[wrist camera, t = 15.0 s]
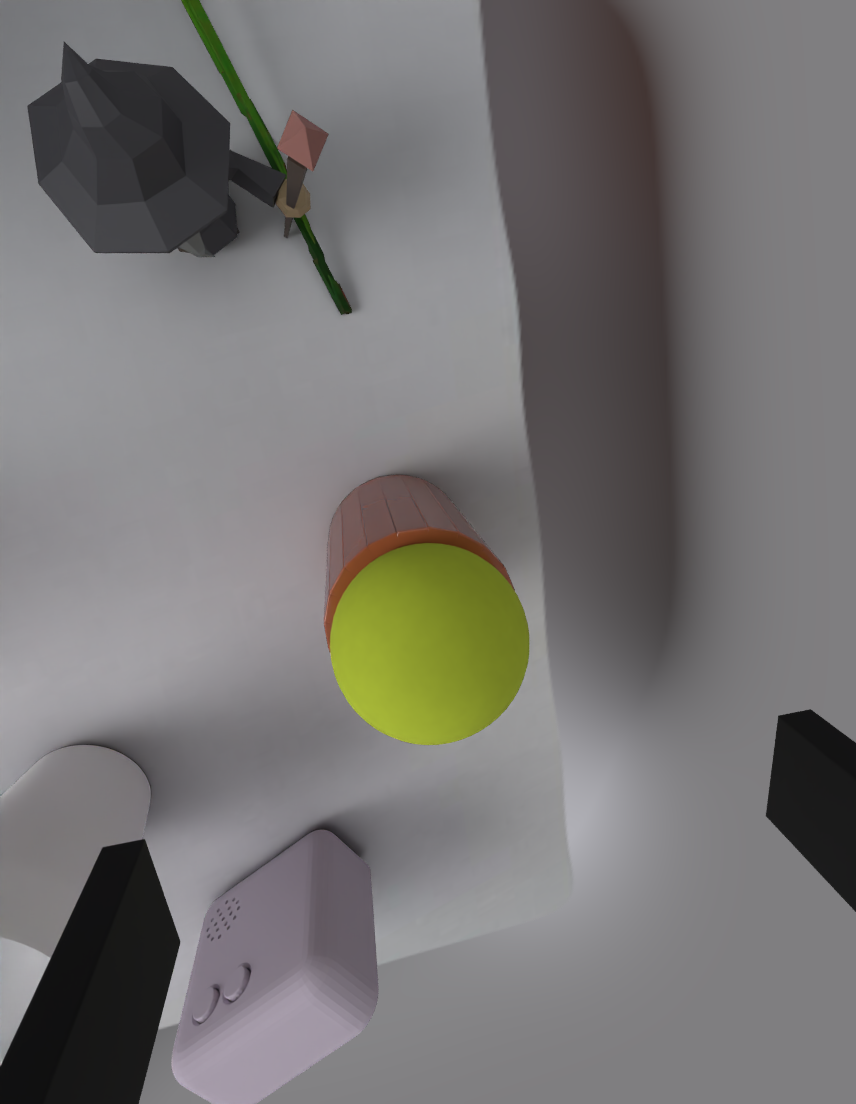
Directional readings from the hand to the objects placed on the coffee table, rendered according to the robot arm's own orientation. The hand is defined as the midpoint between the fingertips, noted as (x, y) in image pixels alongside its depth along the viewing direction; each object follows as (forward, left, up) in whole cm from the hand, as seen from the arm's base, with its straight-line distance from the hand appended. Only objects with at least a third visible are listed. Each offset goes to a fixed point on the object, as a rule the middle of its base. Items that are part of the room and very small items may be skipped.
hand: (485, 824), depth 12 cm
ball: (0, 0, -9) cm, 9 cm away
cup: (+12, -19, -20) cm, 30 cm away
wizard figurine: (-16, -5, -20) cm, 26 cm away
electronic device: (+21, -10, -20) cm, 31 cm away
